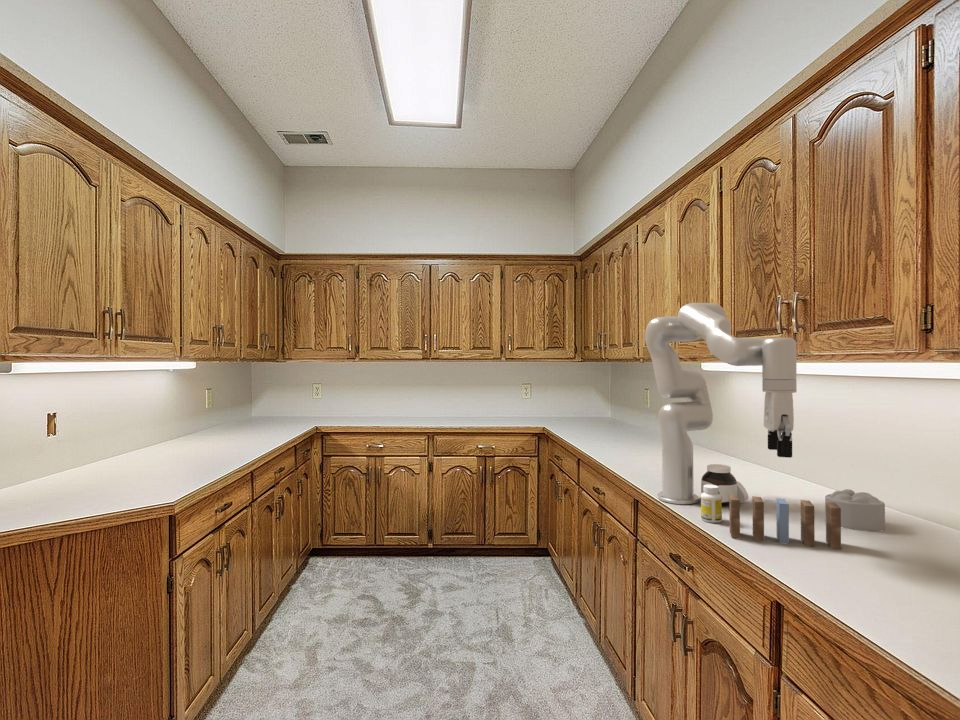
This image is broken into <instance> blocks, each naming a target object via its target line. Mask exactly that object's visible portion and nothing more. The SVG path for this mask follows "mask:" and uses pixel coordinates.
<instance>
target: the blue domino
mask: <svg viewBox="0 0 960 720" xmlns="http://www.w3.org/2000/svg"><path fill="white" fill-rule="evenodd" d="M775 498H776V499H775V502H776V511H775V513H776V515H775V516H776V521H775V522H776V525H775V526H776V538H777V541H778V542H779V544H786V545H788V544H790V527H789V526H790V517H789V516H790V513H789V509H790V506H789V503H788V501H787V499H786V498H779V497H775Z"/></svg>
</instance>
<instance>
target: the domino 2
mask: <svg viewBox="0 0 960 720" xmlns="http://www.w3.org/2000/svg"><path fill="white" fill-rule="evenodd" d="M751 500H752V504H751V505H752V536H753V538H755V539H754V541H755V540H759V541H758V542H765V502H764V500H763V498H762V496H752V499H751Z"/></svg>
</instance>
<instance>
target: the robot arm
mask: <svg viewBox="0 0 960 720" xmlns="http://www.w3.org/2000/svg"><path fill="white" fill-rule="evenodd" d="M731 332H732V324H731V321H730V320H729V318H727V313H726V310H725V309H724V308H723V306H721V305H720V304H718V303H715V302H690V303H687V304H685V305H682V306H681V308H680V309H679V310H678V312H677V316H674V315H673V316H658V317H655V318H653V319H651V320H650V321H649V322H648V324H647V325H646V329H645V333H644V340H645V344H646V348H647V350H648V352H649V356H650V358H651V362H652V368H653V372H654V377H655V383H656V387H657V392H658V394H659V395H660V397H662V398H663V399H666V400H675V399H676V400H678V399H685V401H678V402H677V401H676V402H669V403H666V404H664V405H663V406H661V408H660V409H659V411H658V414H657V415H658V417H657V418H658V424H659V428H660V434H661V471H662V473H661V475H662V476H661V478H662V481H661V483H662V487H661V488H662V491H659V492H658V493H657V498H658V500H660V501H662V502H665V503H669V504H674V505H692V504H697V503H699V501H700V497H699V495H697V494H695V493H694V491H695V490H694V446H693V442H692V439H691V438H690V436H689V433H688V432H695V431H703V430H707V429H708V428H709V427H711V426H712V423H713V419H714V418H713V417H714V415H713V409H712V403H711V400H710V394H709V391H708V386H707V381H706V380H705V378H704V376H703V375H702V374H701V373H700V372H699V371H697V370H695V369H682V366H681V362H680V357H679V355H678V353H677V352H676V350H675V348H674V347H673V346H672V345H671V344H670V343H685V342H686V343H687V342H688V343H690V342H695V341H698V340H701V339H702V340H704V341H705V342H706V343H705V344H706V346H707V349H708V350H709V352H710V354H712V355H713V356H714V357H716V358H717V359H719V360H721V361H722V362H724V363H726V364H728V365H730V366H735V367H749V366H751V367H754V366H755V367H756V366H757V367H758V366H762V369H761V370H762V371H761V372H762V387H761V389H762V393H765V394H764V404H763V405H764V407H763V427H764V428H765V429H767V449H768V450H772V451H773V450H774V451H776V456H777V457H779V458H793V433H792V432H793V430H794V425H795V424H794V422H795V421H794V420H795V419H794V399H793V393H794V394H795V393H797V392H798V391H797V387H798V386H797V383H798V382H797V379H798V378H797V341H796V339H794V338H793V337H737V336H736V337H735V336H734V335H732V334H731Z"/></svg>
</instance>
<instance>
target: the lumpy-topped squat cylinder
mask: <svg viewBox="0 0 960 720" xmlns="http://www.w3.org/2000/svg"><path fill="white" fill-rule="evenodd" d="M826 502H833V503H836V504H837V505H838V506H839V507H840V508H841V528H842V527H843V528H844V529H848V530H853V531H854V530H855V531H856V530H857V531H865V530H866V531H865V532H867V531H869V532H882V531H881V530H883V531H885V530H886V507H885V506H886V505H885V504H886V503H885V502H884V501H882V500H880V499H878V498H877V497H876V496H874V495H872V494H870V493H868V492H863V491H862V492H855V491H854V490H852V489H843V490H835V491H833V492H832V493H829V494H827V495H825V497H824V522H825V523H826ZM843 528H842V529H843Z"/></svg>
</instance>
